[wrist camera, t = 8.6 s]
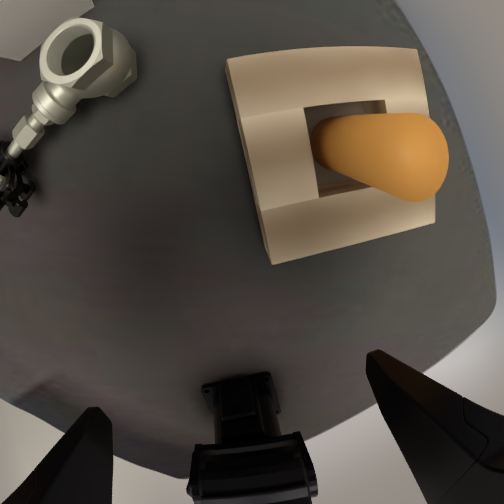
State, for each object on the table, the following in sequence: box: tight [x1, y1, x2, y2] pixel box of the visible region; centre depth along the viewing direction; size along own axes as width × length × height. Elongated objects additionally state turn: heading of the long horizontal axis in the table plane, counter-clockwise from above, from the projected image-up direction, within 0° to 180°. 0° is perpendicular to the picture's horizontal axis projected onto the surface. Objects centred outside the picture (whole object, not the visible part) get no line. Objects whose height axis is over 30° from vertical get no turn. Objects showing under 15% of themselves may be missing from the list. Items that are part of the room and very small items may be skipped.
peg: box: [310, 113, 449, 202], centre depth 14 cm, size 4×4×9 cm
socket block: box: [225, 46, 435, 265], centre depth 17 cm, size 12×12×3 cm
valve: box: [0, 17, 137, 217], centre depth 13 cm, size 7×7×12 cm
